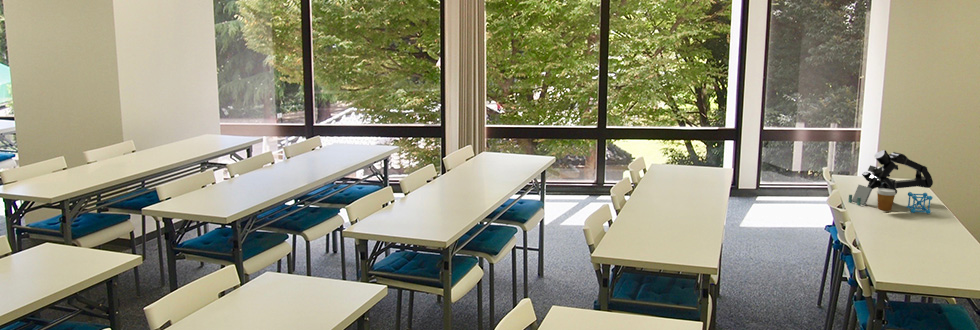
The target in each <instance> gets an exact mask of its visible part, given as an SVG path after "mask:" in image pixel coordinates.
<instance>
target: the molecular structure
mask: <svg viewBox="0 0 980 330" xmlns="http://www.w3.org/2000/svg"><path fill="white" fill-rule="evenodd" d="M907 196H908V203H907V205H906V208H907V209H909V210H910V213H911V214H914V213H916V212H917V213H926V214H927V215H930V214H931V213H932V210H931V209H930V208H931V200H933V196H932V195H928V193H927V192H923V193H912V192H911V191H909V192H908V193H907ZM911 199H912V200H913V202H912V204H911ZM919 199H920V200H919ZM926 201H928V205H927V207H928V208H927V207H926ZM922 203H923V204H922ZM918 206H920V207H918ZM917 209H918V210H917Z"/></svg>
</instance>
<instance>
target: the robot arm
mask: <svg viewBox="0 0 980 330" xmlns="http://www.w3.org/2000/svg"><path fill="white" fill-rule="evenodd" d="M873 156H874V159H876V161H877V162H878V163H879V165H880V166H875V165H869V167H868V168H867V171H864V172H862V174H861V175H862V177H863V178H864V179H865V180H866V181H867V182H868V184H867V186H866V187H869V188H872V190H874V189H877V190H878V189H880V188H886V189H893V190H895V192H896V194H895V195H897V194H898V190H897V189H904V188H913V187H919V188H924V189H926V188H927V189H930V188H932V187H933V184H934V181H933V180H934V179H933V178H932V175H931V173H930V172H929V170H928V167H927V166H925V165H922V164H921V163H918V162H916V161H914V160H911V159H909V158H908V156H906V155H905V154H903V153H900V152H897V151H893V152H891V153H888V151H887V150H886V149H882V150H880V151H878V152H876V153H875V154H874V155H873ZM898 164H899V165H903V166H905V167H908V168H910V169H912V170H915V171H916V172H915V175H914V176H915V177H914V178H913V179H912V178H910V179H902V180H896V179H892V178H890V176H891V175H890V174H891V173H892V172H893V171H894V170H896V171H898V170H899V165H898ZM881 165H882V166H881ZM893 204H895V202H894V201H893Z"/></svg>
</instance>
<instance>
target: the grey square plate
mask: <svg viewBox="0 0 980 330" xmlns="http://www.w3.org/2000/svg"><path fill="white" fill-rule="evenodd" d="M872 190H873V189H872V188H869V187H867V186H866V185H862V184H858V185H857V187H856V189H855V191H854V194H853V195H852V202H851V203H856V204H857V198H858V197H860V198H861V202H860V206H864V204H866V205H867V203H868V200H869V198H870V196H871V193H872Z"/></svg>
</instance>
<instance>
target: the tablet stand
mask: <svg viewBox="0 0 980 330" xmlns="http://www.w3.org/2000/svg"><path fill="white" fill-rule="evenodd" d="M852 199H853V194H848V201H847V202H848V203H849V204H850V203H853V202H852ZM860 202H861V198H860V197H858V198H857V203H856V206H861V204H860ZM863 206H864V207H868V206H869V205H868V204H867V203H866V204H864V205H863Z"/></svg>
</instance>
